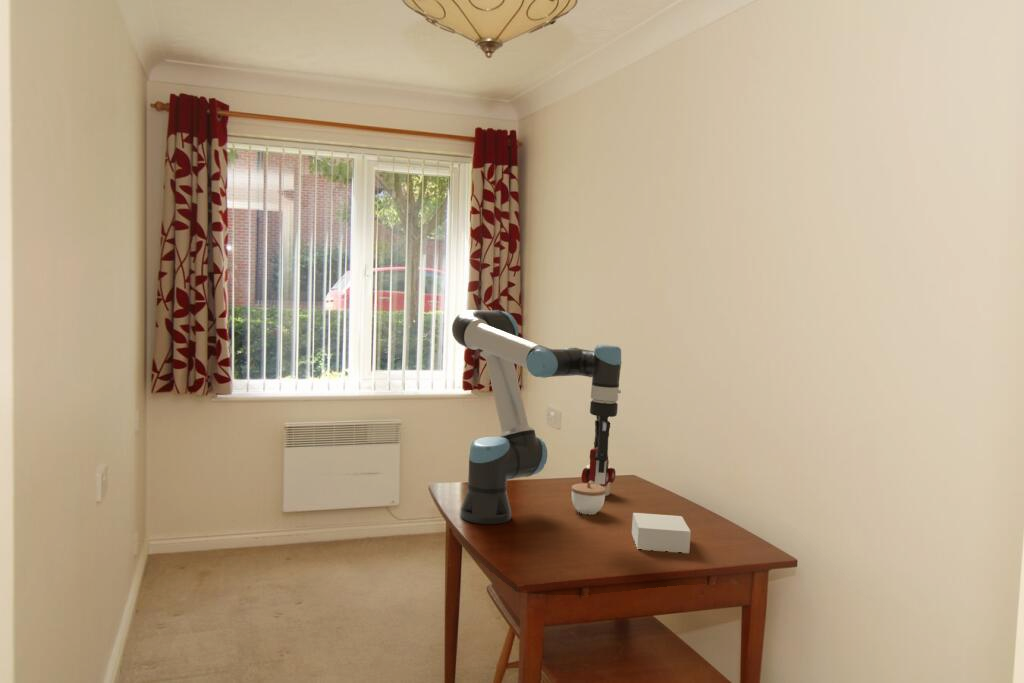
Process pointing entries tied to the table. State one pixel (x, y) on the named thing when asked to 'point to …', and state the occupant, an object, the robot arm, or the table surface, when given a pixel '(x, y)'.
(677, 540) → the cream white block
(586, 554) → the table surface
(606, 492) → the teacup with lid
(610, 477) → the toy fire truck
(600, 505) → the lidded jar
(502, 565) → the table surface
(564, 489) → the table surface
